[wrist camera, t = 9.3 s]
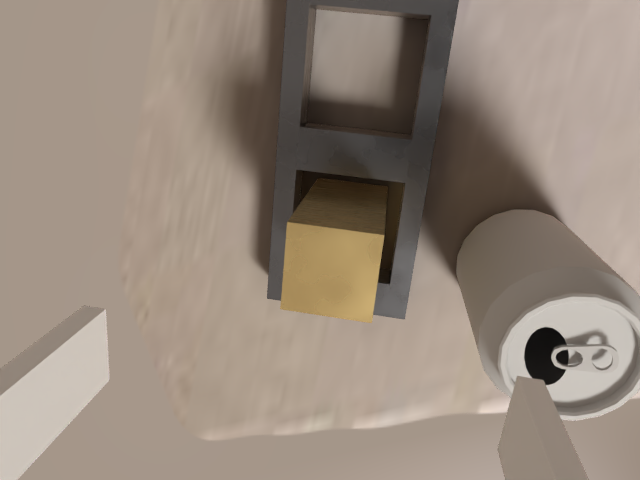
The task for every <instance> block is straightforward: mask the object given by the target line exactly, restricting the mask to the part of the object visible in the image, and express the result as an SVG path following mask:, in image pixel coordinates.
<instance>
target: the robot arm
mask: <svg viewBox="0 0 640 480" xmlns="http://www.w3.org/2000/svg"><path fill="white" fill-rule="evenodd" d="M108 381H109V361H108V343H107V324H106V309H102V308H96V307H90V306H83V307H81V308H80V309H79V310H77V311H76V312H75V313H73V314H72V315H71V316H69V317H68V318H67V319H65V320H64V321H63V322H61V323H60V324H59V325H58V326H56V327H55V328H53V329H52V330H51V331H49V332H48V333H47V334H46V335H44V336H43V337H42V338H40V339H39V340H38V341H37V342H35V343H34V344H32V345H31V346H30V347H28V348H27V349H26V350H24V351H23V352H22V353H20V354H19V355H18V356H16V357H15V358H14V359H12V360H11V361H10V362H8V363H7V364H6V365H4V366H3V367H2V368H1V369H0V480H17V479H18V478H19V477H20V476H21V475H22V474H23V473H24V472H25V471H26V470H27V469H28V468H29V466H30V465H31V464H32V463H33V462H34V461H35V460H36V459H37V458H38V457H39V456H40V455H41V453H42V452H43V451H44V450H45V449H46V448H47V447H48V446H49V445H50V444H51V443H52V442H53V440H54V439H55V438H56V437H57V436H58V435H59V434H60V433H61V432H62V431H63V430H64V429H65V428H66V426H67V425H68V424H69V423H70V422H71V421H72V420H73V419H74V418H75V417H76V416H77V415H78V414H79V412H80V411H81V410H82V409H83V408H84V407H85V406H86V405H87V404H88V403H89V402H90V401H91V399H92V398H93V397H94V396H95V395H96V394H97V393H98V392H99V391H100V390H101V389H102V387H103V386H104V385H105V384H106V383H107V382H108ZM498 453H499V457H500V461H501V465H502V468H503V473H504V476H505V480H589V479H588V477H587V474H586V472H585V470H584V468H583V466H582V463H581V461H580V459H579V457H578V455H577V453H576V450H575V448H574V446H573V444H572V442H571V439H570V437H569V435H568V433H567V431H566V429H565V426H564V424H563V422H562V420H561V418H560V415H559V413H558V411H557V409H556V407H555V404H554V402H553V400H552V398H551V396H550V393H549V391H548V389H547V387H546V385H545V383H544V380H540V379H534V378H527V377H521V376H517V378H516V381H515V385H514V389H513V393H512V397H511V400H510V404H509V408H508V412H507V415H506V419H505V423H504V427H503V431H502V434H501V438H500V442H499V446H498Z"/></svg>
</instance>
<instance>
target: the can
mask: <svg viewBox="0 0 640 480" xmlns="http://www.w3.org/2000/svg"><path fill="white" fill-rule="evenodd" d="M456 274H457V278H458V282H459V285H460V289H461V292H462V296H463V299H464V303H465V306H466V309H467V313H468V316H469V320H470V323H471V327H472V330H473V334H474V337H475V341H476V344H477V348H478V351H479V355H480V358H481V362H482V365H483V369H484V371H485V372H486V374H487V375H488V376H489V378H490V379H491V381H492V382H493V383H494V385H495V386H496V387H497V389H499V390H500V391H502V392H503V393H504V394H506V395H507V396H509V397H510V398H511V397H512V393H513V389H514V385H515V381H516V378H517V376H521V377H527V378H534V379H540V380H544V383H545V385H546V387H547V389H548V391H549V393H550V396H551V398H552V400H553V402H554V404H555V407H556V409H557V411H558V413H559V415H560V418H561V420H574V421H576V420H581V419H587V418H593V417H599V416H601V415H603V414H605V413H607V412H610V411H612V410H614V409H617V408H619V407H621V406H622V405H623V404H624V403H625V402H627V401H628V400H629V399H630V398H631V397H633V396H634V395H635V394H636V393H637V392H638V391H639V389H640V296H639V295H638V293H637V292H636V291H635V290H634V289H633V288H632V287H631V286H630V285H629V284H628V283H627V282H626V281H625V280H623V279H622V278H621V277H620V276H619V275H618V274H617V273H616V272H615V271H614V270H613V269H612V268H611V267H610V266H608V265H607V264H606V263H605V262H604V261H603V260H602V259H601V258H600V257H599V256H598V255H597V254H596V253H595V252H594V251H592V250H591V249H590V248H589V247H588V246H587V245H586V244H585V243H584V242H583V241H582V240H581V239H580V238H579V237H578V236H576V235H575V234H574V233H573V232H572V231H571V230H570V229H569V228H568V227H567V226H565V225H564V224H563V223H561V222H560V221H559V220H557V219H556V218H555V217H553V216H551V215H548V214H545V213H542V212H539V211H536V210H518V209H513V210H510V211H506V212H502V213H499V214H495V215H493V216H491V217H490V218H488V219H486V220H485V221H483V222H481V223H480V224H478V225H477V226H476V227H475V228H474V229H473V230H472V231H471V233H470V234H469V235H468V236H467V237H466V238H465V239H464V242H463V244H462V246H461V249H460V251H459V253H458V255H457V267H456Z"/></svg>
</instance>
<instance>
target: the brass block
mask: <svg viewBox="0 0 640 480" xmlns="http://www.w3.org/2000/svg"><path fill="white" fill-rule="evenodd" d="M387 193H388V186H380V185H372V184H364V183H356V182H348V181H340V180H332V179H324V178H318V179H317V180H316V182H315V183H314V185H313V186H312V188H311V189H310V190H309V192H308V193H307V195H306V196H305V197H304V199H303V200H302V202H301V203H300V205H299V206H298V207H297V209H296V210H295V212H294V213H293V214H292V216H291V217H290V219H289V220H288V221H287V230H286V243H285V256H284V269H283V282H282V295H281V308H280V309H283V310H290V311H296V312H303V313H309V314H316V315H322V316H329V317H335V318H342V319H348V320H355V321H361V322H368V323H372V318H373V311H374V304H375V297H376V290H377V283H378V276H379V269H380V263H381V256H382V249H383V242H384V235H385V221H386V207H387Z"/></svg>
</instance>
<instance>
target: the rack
mask: <svg viewBox="0 0 640 480" xmlns="http://www.w3.org/2000/svg"><path fill="white" fill-rule="evenodd" d="M458 2H459V0H287V4H286V19H285V34H284V49H283V65H282V80H281V95H280V110H279V125H278V140H277V155H276V170H275V185H274V201H273V216H272V231H271V246H270V261H269V276H268V291H267V299H273V300H280V301H281V295H282V282H283V269H284V256H285V243H286V230H287V221H288V220H289V219H290V217H291V216H292V214H293V213H294V212H295V210H296V209H297V207H298V206H299V205H300V197H301V185H302V174H303V170H304V171H312V172H321V173H329V174H337V175H345V176H353V177H361V178H369V179H377V180H385V181H393V182H401V183H404V185H403V191H402V198H401V204H400V211H399V217H398V224H397V230H396V237H395V243H394V250H393V256H392V263H391V269H383V268H380V269H379V276H378V283H377V290H376V297H375V304H374V311H373V315H379V316H386V317H392V318H399V319H405V314H406V309H407V303H408V297H409V291H410V285H411V279H412V273H413V267H414V261H415V255H416V250H417V244H418V238H419V232H420V226H421V220H422V214H423V208H424V202H425V196H426V191H427V185H428V179H429V173H430V167H431V161H432V155H433V149H434V143H435V137H436V132H437V126H438V120H439V114H440V108H441V102H442V96H443V90H444V84H445V78H446V73H447V67H448V61H449V55H450V49H451V43H452V37H453V31H454V25H455V20H456V14H457V8H458ZM316 9H319V10H330V11H341V12H352V13H363V14H375V15H386V16H397V17H408V18H419V19H429V22H428V28H427V35H426V41H425V48H424V54H423V61H422V67H421V74H420V80H419V87H418V93H417V100H416V106H415V113H414V119H413V126H412V132H411V134H403V133H394V132H385V131H376V130H368V129H359V128H350V127H341V126H333V125H324V124H315V123H307V114H308V102H309V91H310V79H311V67H312V55H313V43H314V31H315V20H316Z"/></svg>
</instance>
